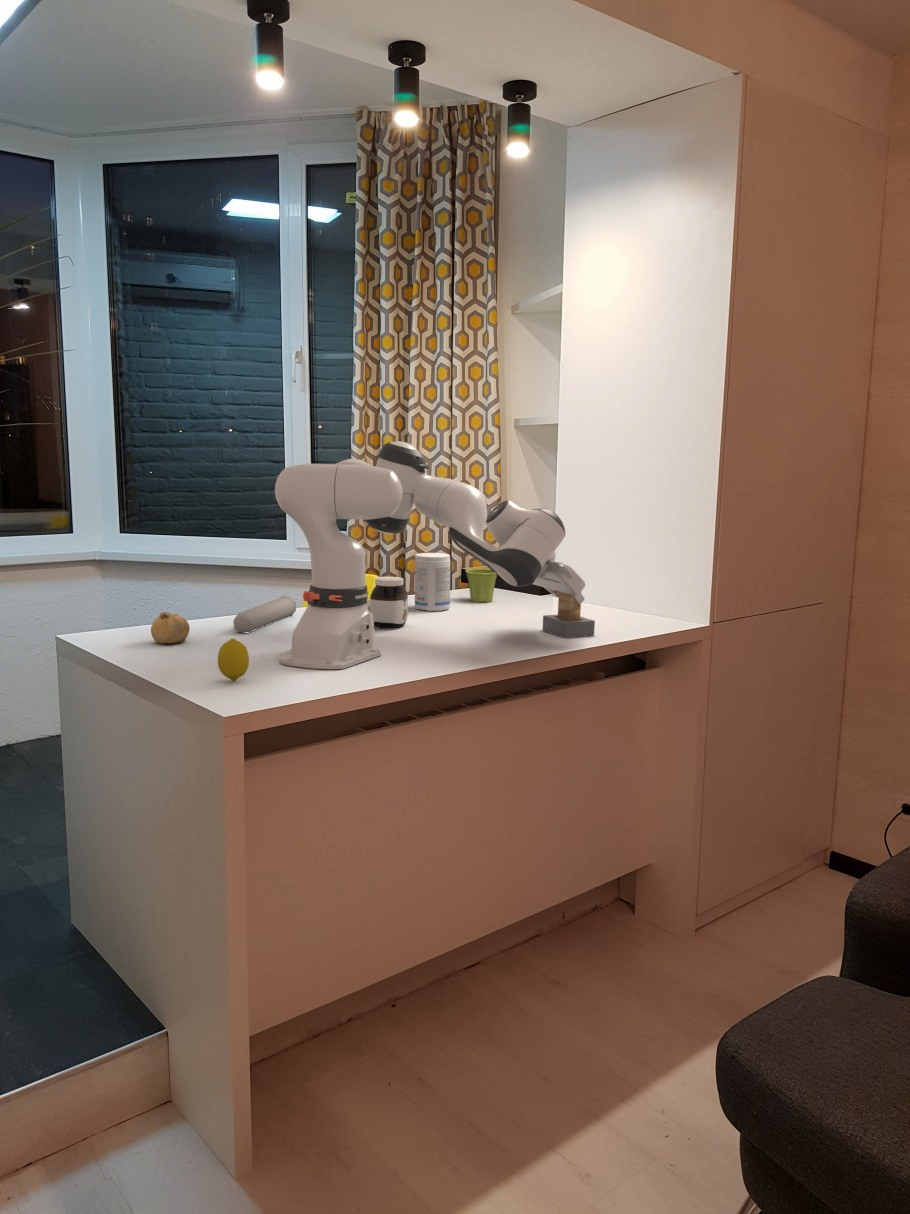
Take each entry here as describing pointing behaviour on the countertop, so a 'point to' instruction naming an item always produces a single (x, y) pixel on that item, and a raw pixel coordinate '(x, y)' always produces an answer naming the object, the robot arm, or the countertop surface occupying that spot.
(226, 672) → the lemon
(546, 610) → the countertop surface
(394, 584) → the spread jar
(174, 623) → the onion
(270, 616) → the tube
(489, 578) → the plant pot
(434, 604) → the supplement tub
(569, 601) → the wooden block
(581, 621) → the grey socket block
